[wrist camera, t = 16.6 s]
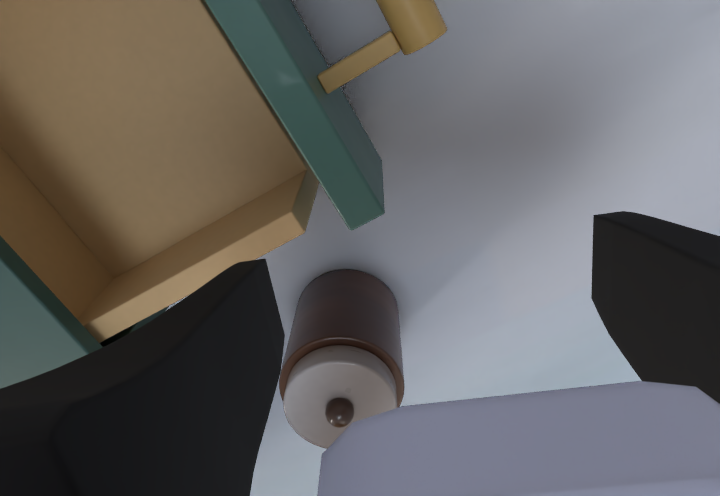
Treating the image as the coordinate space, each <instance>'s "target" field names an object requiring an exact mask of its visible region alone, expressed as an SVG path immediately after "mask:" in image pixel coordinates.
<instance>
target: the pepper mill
mask: <svg viewBox="0 0 720 496" xmlns="http://www.w3.org/2000/svg"><path fill="white" fill-rule="evenodd" d="M279 389H280V394H281V397H282V400H283V407H284V412H285V415H286V418H287V420H288V422H289V424H290V425H291V427H292V428H293V429H294V430H295V432H296V433H297V434H299V435H300V436H301V437H302V438H304V439H305V440H307V441H308V442H310V443H312V444H314V445H317V446H320V447H323V448H327V449H328V448H329V447H330V446H331V444H332V443H333V442H334V441H335V440H336V439H337V438H338V437H339V436H340V435H341V434H342V433H343V432H344V431H345V430H346V429H347V428H348V427H349V426H350V424H351V423H353V422H356V421H359V420H362V419H365V418H368V417H371V416H374V415H377V414H380V413H383V412H386V411H389V410H392V409H395V408H399V406H400V404H401V402H402V399H403V395H404V375H403V363H402V350H401V338H400V325H399V313H398V306H397V303H396V300H395V298H394V296H393V294H392V292H391V291H390V290H389V288H388V287H387V286H386V285H385V284H384V283H382V282H381V281H380V280H379V279H377V278H375V277H374V276H372V275H369V274H367V273H364V272H361V271H355V270H338V271H333V272H329V273H326V274H324V275H322V276H320V277H318V278H316V279H315V280H314V281H312V282H311V283H310V284H309V285H308V286H307V287H306V288H305V290H304V291H303V292H302V294H301V296H300V298H299V301H298V305H297V309H296V313H295V317H294V321H293V325H292V329H291V333H290V337H289V341H288V345H287V349H286V353H285V357H284V361H283V365H282V369H281V374H280V379H279Z"/></svg>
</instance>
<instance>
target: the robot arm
mask: <svg viewBox="0 0 720 496" xmlns="http://www.w3.org/2000/svg"><path fill="white" fill-rule="evenodd" d="M592 300H593V302H594V304H595V307H596V309H597V311H598V313H599V315H600V317H601V319H602V321H603V323H604V325H605V327H606V329H607V331H608V333H609V335H610V336H611V338H612V339H613V341H614V342H615V343H616V345H617V346H618V348H619V349H620V351H621V352H622V353H623V355H624V356H625V358H626V359H627V361H628V362H629V363H630V365H631V366H632V368H633V369H634V370H635V372H636V373H637V375H638V376H639V377H640V379H641V380H642V381H636V382H626V383H617V384H607V385H598V386H589V387H579V388H570V389H560V390H551V391H542V392H532V393H523V394H513V395H504V396H494V397H485V398H476V399H466V400H457V401H447V402H438V403H429V404H419V405H410V406H402V407H399V408H395V409H392V410H389V411H386V412H383V413H380V414H377V415H374V416H371V417H368V418H365V419H362V420H359V421H356V422H353V423H351V424H350V426H349V427H348V428H347V429H346V430H345V431H344V432H343V433H342V434H341V435H340V436H339V437H338V438H337V439H336V440H335V441H334V442H333V443H332V444H331V446H330V447H329V448H328V449H327V450H326V451H325V452H324V453H323V454H322V459H321V468H320V477H319V486H318V494H317V496H720V236H717V235H713V234H710V233H706V232H703V231H699V230H696V229H692V228H689V227H685V226H682V225H678V224H675V223H672V222H668V221H665V220H661V219H658V218H654V217H650V216H646V215H642V214H638V213H633V212H625V211H622V212H614V213H607V214H599V215H594V222H593V261H592ZM284 336H285V334H284V330H283V327H282V323H281V319H280V315H279V311H278V307H277V303H276V299H275V295H274V291H273V287H272V283H271V279H270V275H269V271H268V267H267V263H266V259H259V260H251V261H244V262H238V263H236V264H234V265H232V266H231V267H229V268H227V269H226V270H224V271H223V272H221V273H220V274H218V275H217V276H216V277H214V278H213V279H211V280H210V281H209V282H207V283H206V284H204V285H203V286H202V287H200V288H199V289H197V290H196V291H195V292H193V293H192V294H190V295H189V296H188V297H186V298H185V299H183V300H182V301H180V302H179V303H177V304H176V305H174V306H173V307H171V308H170V309H168V310H167V311H165V312H164V313H162V314H161V315H159V316H158V317H156V318H155V319H153V320H152V321H150V322H148V323H147V324H145V325H143V326H142V327H140V328H138V329H137V330H135V331H133V332H131V333H129V334H128V335H126V336H124V337H122V338H120V339H118V340H116V341H114V342H113V343H111V344H109V345H107V346H105V347H103V348H101V349H98V350H96V351H94V352H92V353H89V354H87V355H85V356H83V357H81V358H78V359H76V360H74V361H72V362H69V363H67V364H65V365H63V366H60V367H58V368H56V369H53V370H51V371H48V372H45V373H43V374H40V375H38V376H35V377H32V378H30V379H27V380H24V381H21V382H18V383H15V384H13V385H10V386H7V387H4V388H1V389H0V496H250V490H251V484H252V478H253V472H254V468H255V463H256V459H257V454H258V451H259V447H260V444H261V440H262V436H263V433H264V429H265V426H266V422H267V419H268V415H269V412H270V408H271V404H272V401H273V397H274V394H275V390H276V386H277V382H278V379H279V375H280V371H281V363H282V355H283V346H284Z"/></svg>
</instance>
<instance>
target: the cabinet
mask: <svg viewBox="0 0 720 496" xmlns="http://www.w3.org/2000/svg"><path fill="white" fill-rule="evenodd" d="M167 308H168V306H167V307H165V308H164V309H162V310H160V311H158V312H156V313H154V314H152V315H150V316H149V317H147V318H145V319H143V320H141V321H139V322H137V323H136V324H134V325H132V326H130V327H128V328H126V329H124V330H123V331H121V332H119V333H117V334H115V335H113V336H111V337H109V338H108V339H106V340H104V341H102V342H100V343H99V342H98V341H97V340H96V339H95V338H94V337H93V336H92V335H91V334H90V332H89V331H88V330H87V329H86V328H85V327H84V326H83V325H82V324H81V323H80V322H79V320H78V319H77V318H76V317H75V316H74V315H73V314H72V313H71V312H70V311H69V310H68V309H67V307H66V306H65V305H64V304H63V303H62V302H61V301H60V300H59V299H58V298H57V297H56V295H55V294H54V293H53V292H52V291H51V290H50V289H49V288H48V287H47V286H46V285H45V283H44V282H43V281H42V280H41V279H40V278H39V277H38V276H37V275H36V274H35V273H34V272H33V270H32V269H31V268H30V267H29V266H28V265H27V264H26V263H25V262H24V261H23V260H22V258H21V257H20V256H19V255H18V254H17V253H16V252H15V251H14V250H13V249H12V248H11V246H10V245H9V244H8V243H7V242H6V241H5V240H4V239H3V238H2V237H1V236H0V389H1V388H4V387H7V386H10V385H13V384H15V383H18V382H21V381H24V380H27V379H30V378H32V377H35V376H38V375H40V374H43V373H45V372H48V371H51V370H53V369H56V368H58V367H60V366H63V365H65V364H67V363H69V362H72V361H74V360H76V359H78V358H81V357H83V356H85V355H87V354H89V353H92V352H94V351H96V350H98V349H101V348H103V347H105V346H107V345H109V344H111V343H113V342H114V341H116V340H118V339H120V338H122V337H124V336H126V335H128V334H129V333H131V332H133V331H135V330H137V329H138V328H140V327H142V326H143V325H145V324H147V323H148V322H150V321H152V320H153V319H155V318H156V317H158V316H159V315H161V314H162V313H164V312H165V311H166V309H167Z"/></svg>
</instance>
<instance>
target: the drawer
mask: <svg viewBox="0 0 720 496" xmlns="http://www.w3.org/2000/svg"><path fill="white" fill-rule="evenodd" d="M376 2H377V3H378V5H379V7H380V9H381V11H382V13H383V15H384V17H385V19H386V21H387V23H388V25H389V27H390V29H391V31H388V32H386V33H385V34H383V35H381V36H380V37H378V38H376V39H375V40H373V41H371V42H370V43H368V44H367V45H365V46H363V47H362V48H360V49H358V50H357V51H355V52H353V53H352V54H350V55H349V56H347V57H345V58H344V59H342V60H340V61H339V62H337V63H335V64H334V65H332V66H331V67H328V66H327V64H326V62H325V60H324V59H323V57H322V55H321V53H320V52H319V50H318V48H317V46H316V45H315V43H314V41H313V39H312V38H311V36H310V34H309V32H308V31H307V29H306V27H305V25H304V24H303V22H302V20H301V18H300V17H299V15H298V13H297V11H296V10H295V8H294V6H293V4H292V3H291V1H290V0H0V236H1V237H2V238H3V239H4V240H5V241H6V242H7V243H8V244H9V245H10V246H11V248H12V249H13V250H14V251H15V252H16V253H17V254H18V255H19V256H20V257H21V258H22V260H23V261H24V262H25V263H26V264H27V265H28V266H29V267H30V268H31V269H32V270H33V272H34V273H35V274H36V275H37V276H38V277H39V278H40V279H41V280H42V281H43V282H44V283H45V285H46V286H47V287H48V288H49V289H50V290H51V291H52V292H53V293H54V294H55V295H56V297H57V298H58V299H59V300H60V301H61V302H62V303H63V304H64V305H65V306H66V307H67V309H68V310H69V311H70V312H71V313H72V314H73V315H74V316H75V317H76V318H77V319H78V320H79V322H80V323H81V324H82V325H83V326H84V327H85V328H86V329H87V330H88V331H89V332H90V334H91V335H92V336H93V337H94V338H95V339H96V340H97V341H98V342H99V343H100V342H102V341H104V340H106V339H108V338H109V337H111V336H113V335H115V334H117V333H119V332H121V331H123V330H124V329H126V328H128V327H130V326H132V325H134V324H136V323H137V322H139V321H141V320H143V319H145V318H147V317H149V316H150V315H152V314H154V313H156V312H158V311H160V310H162V309H164V308H165V307H167V306H169V305H171V304H173V303H175V302H177V301H178V300H180V299H182V298H184V297H186V296H188V295H190V294H192V293H193V292H195V291H196V290H197V289H199V288H200V287H202V286H203V285H204V284H206V283H207V282H209V281H210V280H211V279H213V278H214V277H216V276H217V275H218V274H220V273H221V272H223V271H224V270H226V269H227V268H229V267H231V266H232V265H234V264H236V263H238V262H244V261H251V260H255V259H257V258H259V257H260V256H262V255H264V254H266V253H268V252H270V251H272V250H274V249H275V248H277V247H279V246H281V245H283V244H285V243H287V242H288V241H290V240H292V239H294V238H296V237H298V236H300V235H301V234H303V233H305V231H306V227H307V224H308V220H309V217H310V213H311V210H312V207H313V203H314V200H315V196H316V193H317V189H318V185H319V182H320V184H321V186H322V187H323V189H324V190H325V192H326V193H327V195H328V197H329V198H330V200H331V201H332V203H333V205H334V206H335V208H336V209H337V211H338V212H339V214H340V216H341V217H342V219H343V220H344V222H345V224H346V225H347V227H348V228H349V229H350V230H354V229H356V228H358V227H360V226H362V225H364V224H366V223H367V222H369V221H371V220H373V219H375V218H377V217H379V216H381V215H383V214H384V213H385V210H384V191H383V172H382V160H381V158H380V156H379V155H378V153H377V151H376V149H375V148H374V146H373V144H372V142H371V141H370V139H369V137H368V135H367V134H366V132H365V130H364V128H363V127H362V125H361V123H360V121H359V120H358V118H357V116H356V114H355V113H354V111H353V109H352V107H351V106H350V104H349V102H348V100H347V99H346V97H345V95H344V93H343V92H342V90H341V88H340V87H341V86H342V85H344V84H346V83H347V82H349V81H351V80H352V79H354V78H356V77H357V76H359V75H361V74H362V73H364V72H366V71H367V70H369V69H371V68H372V67H374V66H376V65H377V64H379V63H381V62H382V61H384V60H386V59H387V58H389V57H391V56H392V55H394V54H396V53H397V52H399V51H400V48H401V50H402V52H403V54H404V55H408V54H411V53H413V52H415V51H417V50H419V49H421V48H423V47H425V46H426V45H428V44H430V43H431V42H433V41H434V40H436V39H437V38H439V37H440V36H442V35H443V34H444V33H445V32H446V31H447V27H446V25H445V23H444V21H443V19H442V17H441V14H440V12H439V10H438V8H437V6H436V4H435V2H434V0H376Z"/></svg>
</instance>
